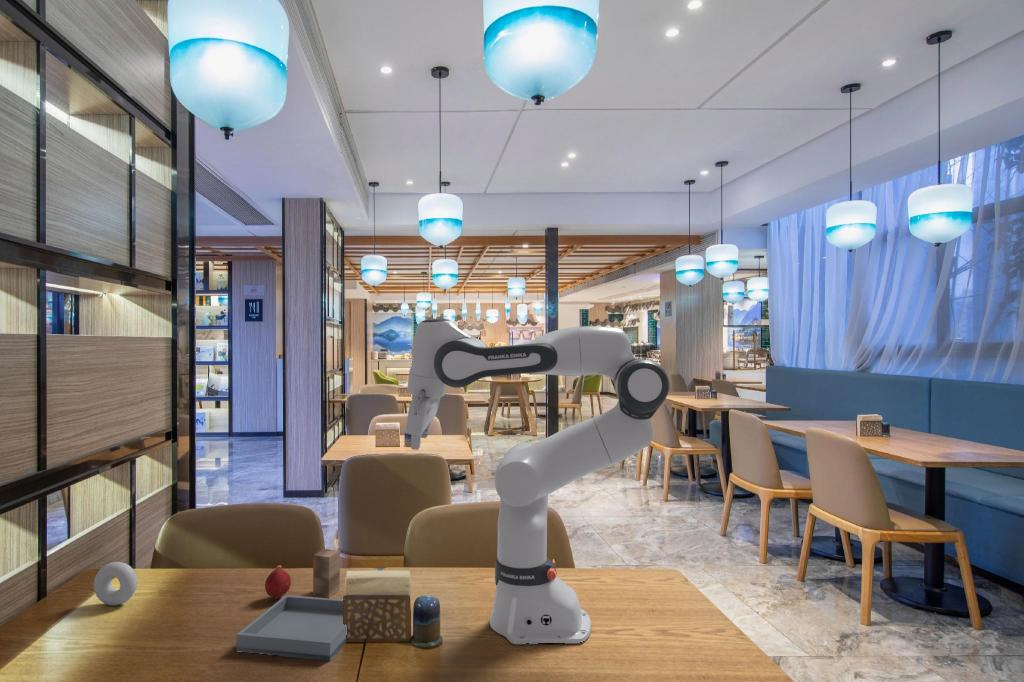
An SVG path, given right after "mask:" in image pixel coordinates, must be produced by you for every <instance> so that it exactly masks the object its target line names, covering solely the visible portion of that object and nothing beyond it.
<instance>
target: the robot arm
mask: <svg viewBox="0 0 1024 682" xmlns="http://www.w3.org/2000/svg"><path fill="white" fill-rule="evenodd" d="M413 336H414V337H413V343H412V348H411V358H412V360H411V365H410V368H409V371H408V382H407V387H406V392H407V393H408V394H410V395H411V401H410V403H409V406H408V407H409V408H408V413H407V419H406V426H405V432H406V434H407V435H410V438H411V446H410V447H411V450H415V451H419V449H420V448H421V444H422V443H421V439H427V437H428V435H429V430H430V426H431V423H432V421H433V420H434V418H435V417H436V416H437V414H438V413H437V412H439V411H438V410H439V407H440V401H441V398H442V397H444V396H445V394H446V387H447V386H448V387H450V388H455V389H458V388H464V387H466V386H469V385H471V384H473V383H475V382H477V381H478V380H481V379H483V378H490V377H499V376H500V377H501V376H511V375H523V374H535V375H536V374H537V375H538V374H539V375H551V376H561V377H562V376H564V377H579V376H580V377H581V376H583V377H584V376H605V377H608V378H609V379H610V381H611V384H612V386H613V390H614V392H615V394H616V396H617V398H618V399H617V403H616V404H615V406H614V407H612V408H610V410H607V411H606V412H604V413H601V414H598V415H596V416H593V417H591V418H589V419H586V420H583V421H581V422H578V423H575V424H573V425H571V426H568V427H565V428H563V429H561V430H559V431H557V432H555V433H554V434H552V435H550V436H548V437H546V438H544V439H541V440H540V441H537V442H535V443H526V442H525V443H518V444H515V445H514V446H512V447H511V448H509V449H508V451H507V452H506V453H505V455H504V456H503V458H502V459H501V461H500V462H499V464H498V465H497V466H496V469H495V473H494V486H495V490H496V493H497V495H498V497H499V498H500V500H499V510H498V511H499V512H498V520H497V556H496V559H495V562H494V581H495V594H494V600H493V606H492V611H491V614H490V617H489V625H490V628H491V630H493V631H494V632H496V633H498V634H499V635H501V636H503V637H505V638H506V639H507V640H508V641H509V642H510V643H511V644H513V645H527V644H526V643H529V644H528V645H539V644H538V643H565V644H581V643H580V642H582V643H584V642H586V640H588V639H589V637H590V635H591V630H592V624H591V623H592V621H591V618H590V615H589V613H588V612H587V611H586V610H585V609H583V608H581V604H580V601H579V597H578V594H577V593H576V591H575V590H574V588H572V587H571V586H569V585H568V584H566V583H565V582H564V581H563V580H561V579H560V578H559V577H558V576H557V572H558V571H557V570H556V569H557V568H556V567H557V566H556V561H555V559H554V558H553V559H552V560H551V559H550V558H548V555H547V551H548V549H547V548H548V547H547V545H548V543H547V540H548V536H547V535H548V530H547V529H548V528H547V527H548V508H549V507H548V504H549V503H548V502H549V495H550V494H552V493H554V492H555V491H557V490H558V491H559V489H561V488H564V487H565V486H567V485H569V484H570V483H572V482H575V481H576V480H579V479H580V478H583V477H585V476H587V475H590V474H592V473H595V472H598V471H600V470H603V469H606V468H608V467H610V466H613V465H615V464H618V463H620V462H622V461H624V460H627V459H629V458H630V457H632V456H634V455H635V454H637V453H639V452H641V451H643V450H644V449H645V448H647V447H648V446H649V445H650V444H651V443H652V440H653V436H654V429H653V425H652V422H651V418H652V417H653V416H654V415H655V414H656V412H657V411H658V410H659V409H660V407H661V406H662V405H663V404H664V403H665V401H666V399H667V397H668V395H669V391H670V379H669V376H668V374H667V371H666V370H665V369H664V368H663V367H662V366H661V365H660V364H659V363H657V362H655V361H653V360H650V359H641V358H638V357H636V356H635V355H634V354H633V351H632V343H631V341H630V338H629V336H628V335H627V333H626V332H625V331H624V330H623V329H621V328H617V327H609V326H598V325H596V326H593V325H592V326H591V325H590V326H584V325H583V326H573V327H572V326H571V327H565V328H561V329H557V330H556V329H555V330H553V331H549V332H547V333H545V334H543V335H541V336H540V337H539V336H538V337H537V338H535V339H533V340H531V341H530V340H529V341H527V342H524V343H519V344H509V345H499V346H498V345H497V346H488V345H486V344H485V342H484V341H482V340H481V339H479V338H477V337H475V336H472V335H470V334H468V333H466V332H464V331H463V330H461V329H460V328H458V327H457V326H456V325H455V323H453V322H452V321H451V320H450V319H448V318H429V319H424V320H422V321H420V322H419V323H418V324H417V327H416V328H415V333H414V335H413ZM583 641H584V642H583Z"/></svg>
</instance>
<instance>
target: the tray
mask: <svg viewBox="0 0 1024 682" xmlns="http://www.w3.org/2000/svg"><path fill="white" fill-rule="evenodd" d="M343 600H344V598H343V599H340V598H331V597H330V598H324V597H318V596H304V595H303V596H302V595H290V594H284V595H283V596H282V597H281V598H280V599H278V601H277V602H275V603H274V604H273V605H272V606H271V607H269V608H267V610H265V611H264V612H263V613H261V614H260V615H259V616H258V617H256V618H255V619H254V620H253V621H252V622H250V623H249V624H247V626H245V627H244V628H243V629H241V630H240V631H238V632H237V633H236V634H235V635H236V638H235V641H236V642H235V643H236V645H235V646H236V647H235V648H236V650H235V652H236V651H243V652H252V653H263V654H270V655H269V656H272V655H279V656H278V657H283V656H284V658H296V659H305V660H315V661H317V660H318V661H326V662H331V661H332V659H333V658H334V657H335V656H336V655H337V653H339V651H340V650H341V649H342V648H343V646H344V645H345V644H346V643H347V642H346V635H347V625H346V624H345V625H344V624H343Z"/></svg>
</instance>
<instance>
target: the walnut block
mask: <svg viewBox="0 0 1024 682" xmlns="http://www.w3.org/2000/svg"><path fill="white" fill-rule="evenodd" d="M312 557H313V564H312V566H313V567H312V569H313V572H312V573H313V575H312V578H313V579H312V597H317V598H330V599H331V597H332V596H334V595H335V594H337V593H338V592H339V591H340V584H341V583H340V581H341V579H340V577H341V575H340V573H341V572H340V571H341V569H340V568H341V567H340V566H341V550H335V549H331V548H330V549H327V548H322V550H320V551H317V553H315V554H313V556H312Z"/></svg>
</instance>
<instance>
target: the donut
mask: <svg viewBox="0 0 1024 682" xmlns="http://www.w3.org/2000/svg"><path fill="white" fill-rule="evenodd" d="M113 578H116V579H117V580H118V582H119V588H118V589H116V588H114V587H113V585H112V579H113ZM137 586H138V576H137V574H136V572H135V570H134V569H133V567H132V566H131V565H129V564H127V563H125V562H121V561H113V562H109V563H107V564H105V565H104V566H102V567H101V568H100V569H99V570H98V571H97V573H96V575H95V578H94V581H93V591H94V593H95V596H96V598H97V599H98V600H99V601H100V602H101V603H103V604H105V605H108V606H112V607H113V606H120V605H122V604H125V603H127V602H128V601H129V600H130V599H132V597H133V595H134V594H135V592H136V590H137V588H138V587H137Z"/></svg>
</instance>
